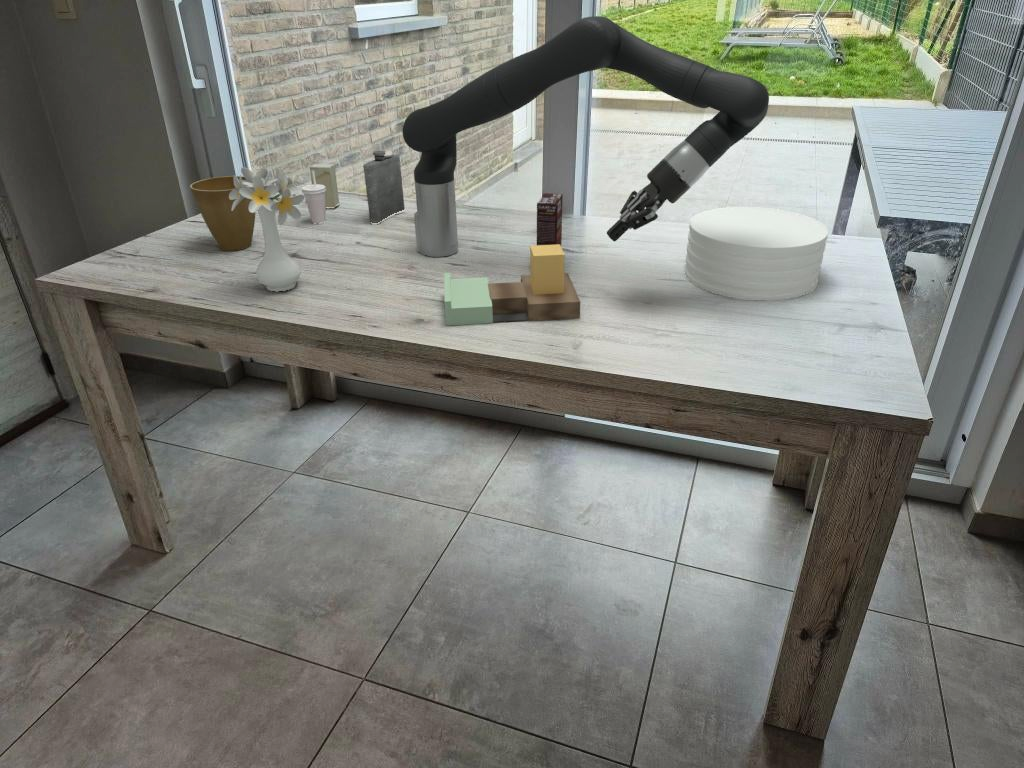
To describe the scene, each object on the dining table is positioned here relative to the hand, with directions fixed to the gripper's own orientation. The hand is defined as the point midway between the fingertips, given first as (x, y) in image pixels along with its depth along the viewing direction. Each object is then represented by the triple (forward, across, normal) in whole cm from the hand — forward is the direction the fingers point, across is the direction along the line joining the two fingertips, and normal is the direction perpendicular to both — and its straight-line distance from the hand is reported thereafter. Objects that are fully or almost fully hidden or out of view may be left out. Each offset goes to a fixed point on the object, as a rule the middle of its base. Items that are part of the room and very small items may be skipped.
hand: (610, 237), depth 137 cm
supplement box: (+16, -21, +3) cm, 26 cm away
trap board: (+20, 0, -1) cm, 21 cm away
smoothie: (+58, -64, -37) cm, 94 cm away
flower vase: (+58, -17, -38) cm, 71 cm away
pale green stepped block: (+30, 0, -10) cm, 31 cm away
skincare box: (+57, -78, -37) cm, 104 cm away
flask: (+44, -66, -24) cm, 83 cm away
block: (+16, 0, -2) cm, 16 cm away
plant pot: (+70, -46, -50) cm, 98 cm away
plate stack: (-14, -10, +34) cm, 38 cm away
